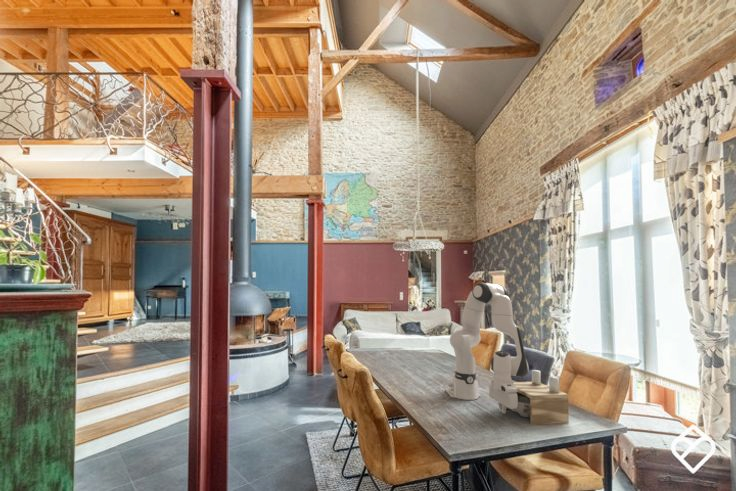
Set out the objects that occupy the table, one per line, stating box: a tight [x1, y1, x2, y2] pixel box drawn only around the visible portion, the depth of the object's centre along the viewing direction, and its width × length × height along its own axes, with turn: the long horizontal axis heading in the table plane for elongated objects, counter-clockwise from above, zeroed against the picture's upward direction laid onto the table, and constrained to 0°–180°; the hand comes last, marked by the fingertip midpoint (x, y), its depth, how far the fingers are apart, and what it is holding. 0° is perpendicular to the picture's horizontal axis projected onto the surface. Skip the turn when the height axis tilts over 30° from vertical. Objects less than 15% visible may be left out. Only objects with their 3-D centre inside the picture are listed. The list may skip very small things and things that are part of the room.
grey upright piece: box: [548, 375, 560, 393], centre depth 192 cm, size 4×4×7 cm
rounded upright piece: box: [531, 369, 542, 385], centre depth 206 cm, size 4×4×7 cm
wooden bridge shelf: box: [506, 381, 570, 426], centre depth 197 cm, size 24×20×14 cm
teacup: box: [510, 396, 531, 418], centre depth 196 cm, size 15×12×8 cm
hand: (502, 412), depth 193 cm, fingers closed
